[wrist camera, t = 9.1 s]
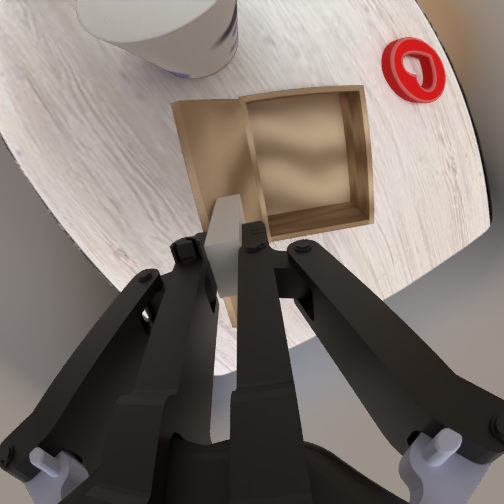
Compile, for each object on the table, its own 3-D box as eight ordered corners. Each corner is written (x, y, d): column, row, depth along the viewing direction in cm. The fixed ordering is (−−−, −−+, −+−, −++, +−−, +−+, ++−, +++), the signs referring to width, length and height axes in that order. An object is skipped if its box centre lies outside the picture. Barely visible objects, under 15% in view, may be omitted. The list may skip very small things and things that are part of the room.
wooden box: (238, 100, 30) (238, 97, 24) (341, 89, 29) (363, 85, 23) (262, 219, 37) (266, 242, 31) (353, 204, 37) (373, 223, 31)
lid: (239, 99, 23) (232, 100, 23) (179, 100, 12) (169, 104, 13) (267, 245, 30) (262, 246, 30) (238, 327, 20) (231, 327, 20)
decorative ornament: (437, 58, 26) (450, 57, 23) (428, 112, 30) (441, 113, 27) (385, 29, 25) (396, 25, 22) (375, 86, 29) (386, 85, 26)
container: (250, 60, 27) (262, -3, 10) (174, 91, 29) (96, 73, 11) (220, -1, 23) (202, -92, 5) (147, 31, 24) (63, -25, 7)
